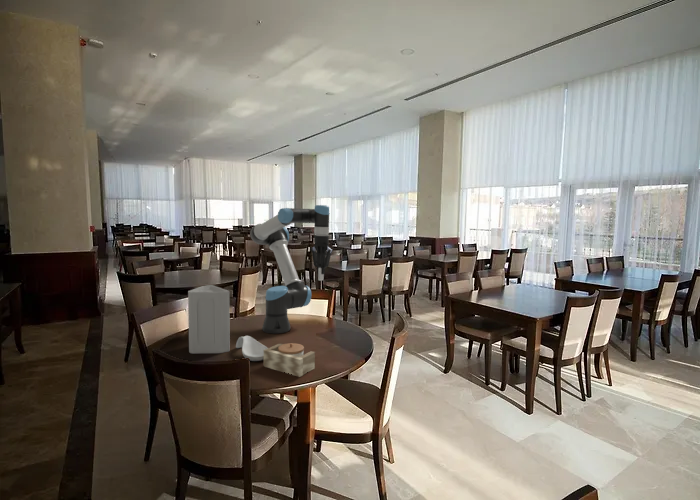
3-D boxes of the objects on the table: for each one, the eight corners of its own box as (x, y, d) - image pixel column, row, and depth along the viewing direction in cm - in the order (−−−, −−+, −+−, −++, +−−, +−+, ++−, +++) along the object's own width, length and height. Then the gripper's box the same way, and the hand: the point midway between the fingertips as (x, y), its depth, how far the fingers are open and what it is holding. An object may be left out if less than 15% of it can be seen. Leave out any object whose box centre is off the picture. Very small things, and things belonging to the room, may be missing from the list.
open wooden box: (263, 366, 160) (263, 350, 159) (279, 358, 168) (279, 343, 168) (299, 377, 150) (299, 359, 149) (314, 368, 159) (314, 352, 158)
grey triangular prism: (181, 347, 180) (180, 288, 178) (212, 340, 190) (211, 284, 188) (198, 358, 166) (197, 295, 164) (230, 350, 177) (230, 291, 174)
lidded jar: (306, 361, 166) (306, 340, 166) (300, 371, 156) (300, 348, 155) (282, 359, 167) (282, 338, 167) (274, 369, 157) (274, 347, 156)
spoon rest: (274, 360, 167) (274, 344, 166) (249, 366, 160) (249, 350, 159) (251, 345, 185) (251, 330, 185) (227, 350, 178) (227, 335, 177)
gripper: (336, 235, 198) (335, 280, 200) (315, 234, 204) (315, 277, 206) (328, 236, 191) (327, 282, 193) (307, 234, 198) (306, 279, 200)
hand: (320, 280), depth 200 cm, fingers closed
